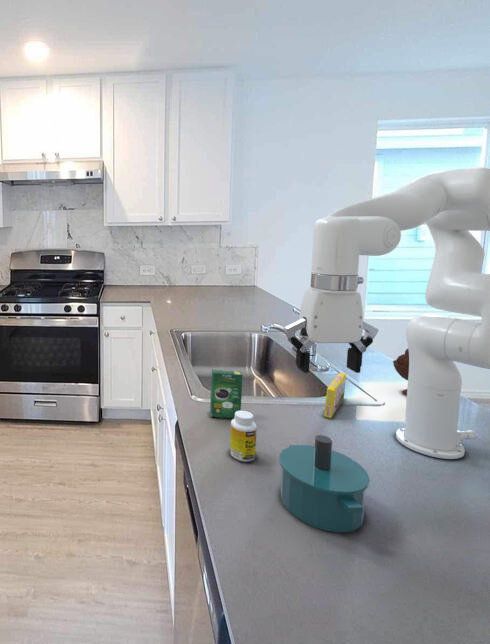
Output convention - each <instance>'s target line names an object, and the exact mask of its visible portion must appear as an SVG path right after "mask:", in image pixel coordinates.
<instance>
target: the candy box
mask: <svg viewBox="0 0 490 644" xmlns="http://www.w3.org/2000/svg"><path fill="white" fill-rule="evenodd" d="M346 382H347V374H346V373H345V372H344V373H343V372H339V373H338V374H337V375H336V376H335V378H334V379H333V380H332V382H331V383H330V385H329V386H328V387H327V388H326V395H325V405H324V414H323V417H324V418H326V419H332V417H333V416H334V414H335V413H336V411H337V410H338V408H339V407H340V405H341V404H342V402H343V400H344V399H345V391H346Z"/></svg>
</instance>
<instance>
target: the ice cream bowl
mask: <svg viewBox="0 0 490 644" xmlns="http://www.w3.org/2000/svg"><path fill="white" fill-rule="evenodd" d="M392 364H393V368H394V370H395V371H396V372H397V374H398V375H399V376H400V377H401V378H402V379H404V380H405V381H408V375H409V349H408V348H407V349H405V351H404V353H403V354H401V355H398V357H397V358H396V359H395V360H392ZM401 393H402V395H404V396H406V397H407V388H406V389H403V390H402V391H401Z"/></svg>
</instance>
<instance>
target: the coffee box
mask: <svg viewBox="0 0 490 644" xmlns="http://www.w3.org/2000/svg"><path fill="white" fill-rule="evenodd" d="M243 376H244V375H243V373H242V372H241V371H240V370H226V369H225V370H224V369H211V385H210V402H209V403H210V404H209V414H210V417H211V418H217V419H220V418H221V419H222V418H223V419H231V420H233V419H234V417H235V412H236V411H242V399H243V398H242V396H243V378H244V377H243Z"/></svg>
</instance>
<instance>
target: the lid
mask: <svg viewBox="0 0 490 644" xmlns="http://www.w3.org/2000/svg"><path fill="white" fill-rule="evenodd" d="M295 445H296V446H291V447H290V446H288V447H285V448H284V449H282V450H281V452H280V453H279V458H278V459H279V460H278V461H279V462H278V463H279V465H280V467H281V468H283V470H284V471H285V472H286V473H287V474H288V475H289V476H291V477H292V478H293V479H295V480H296V481H298V482H300V483H302V484H304V485H306V486H308V487H310V488H313V489H316V490H319V491H322V492H326V493H331V494H338V495H353V494H358V493H361V492H363V491H365V490H366V491H367V489H368V487H369V485H370V476H369V474H368V472H367V470H366V469H365V468H364V467H363V466H362V465H361V464H360V463H358V461H356V460H354V459H353V458H351V457H350V456H348V455H345V454H343V453H341V452H338V451H336V450H333V439H332V438H331V437H329V436H326V435H323V434H318V435H315V437H314V445H311V444H295Z"/></svg>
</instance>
